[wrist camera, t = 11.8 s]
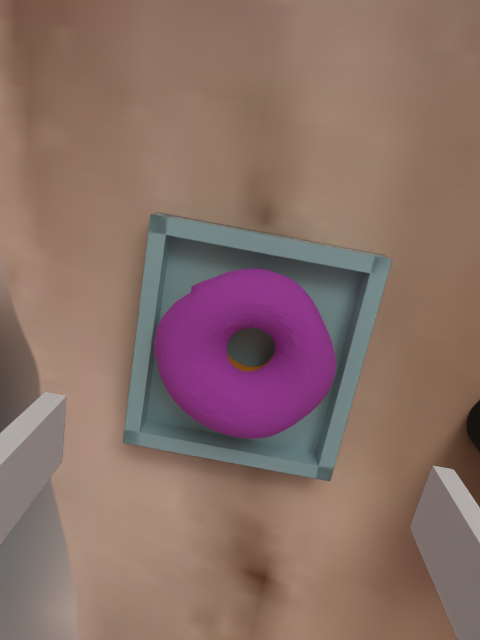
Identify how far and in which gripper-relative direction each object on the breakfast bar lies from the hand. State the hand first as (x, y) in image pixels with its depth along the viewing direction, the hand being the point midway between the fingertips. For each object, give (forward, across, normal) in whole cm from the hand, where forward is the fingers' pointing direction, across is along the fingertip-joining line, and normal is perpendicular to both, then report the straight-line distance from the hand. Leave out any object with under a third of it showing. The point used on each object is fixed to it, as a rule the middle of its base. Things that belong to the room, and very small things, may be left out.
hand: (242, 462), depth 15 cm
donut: (+13, 0, 0) cm, 13 cm away
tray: (+14, 0, -1) cm, 14 cm away
